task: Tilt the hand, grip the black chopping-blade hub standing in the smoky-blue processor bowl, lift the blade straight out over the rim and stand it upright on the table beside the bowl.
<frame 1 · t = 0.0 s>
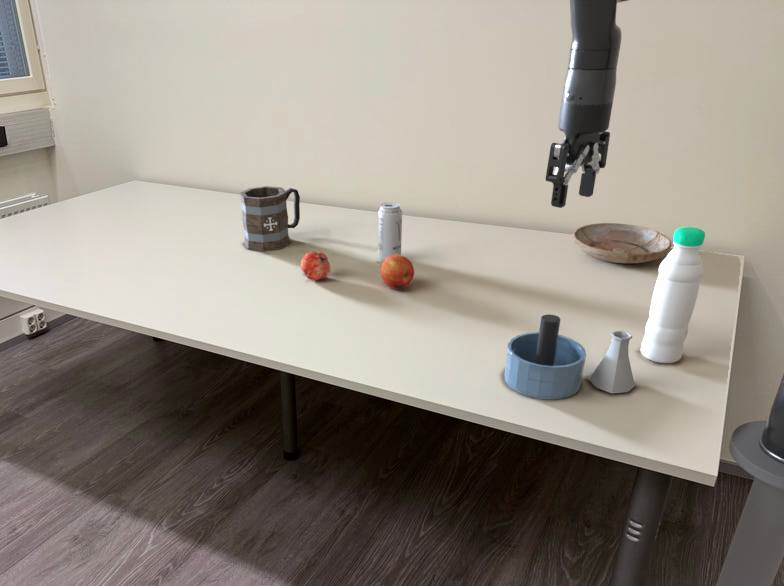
hand: (572, 201, 112), 31 cm above the table, tool pointing down, fingers open, 8 cm apart
chopping blade: (542, 377, 122), point 1 cm above the table, touching processor bowl
energy drink can: (389, 261, 179), on the table
ceramic bowl: (617, 255, 174), on the table
pomegranate: (315, 279, 170), on the table
processor bowl: (541, 380, 122), on the table
flask: (611, 384, 120), on the table
water bottle: (659, 356, 128), on the table
apple: (397, 288, 163), on the table
mug: (275, 241, 197), on the table
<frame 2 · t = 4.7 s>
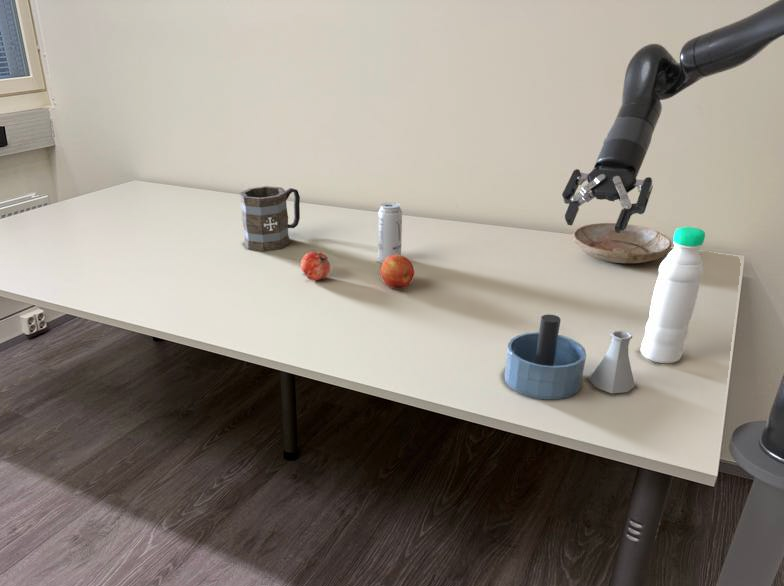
hand: (592, 226, 120), 25 cm above the table, tool tilted 45°, fingers open, 8 cm apart
nothing on the table moved.
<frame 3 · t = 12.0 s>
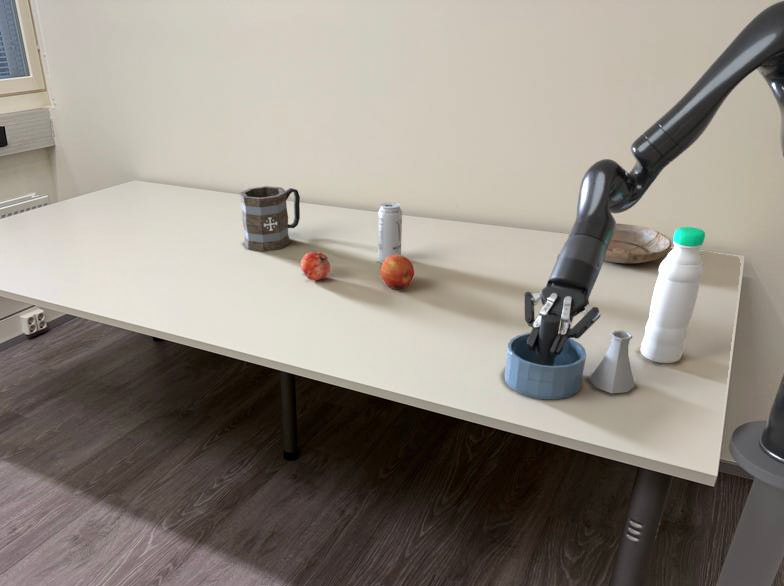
hand: (541, 351, 117), 7 cm above the table, tool tilted 45°, fingers closed on chopping blade, 3 cm apart
chopping blade: (542, 377, 122), point 1 cm above the table, touching gripper, processor bowl
everything else where it was.
when the fingers open (6 cm above the table, at t = 23.2 s): chopping blade stays where it is, on the table.
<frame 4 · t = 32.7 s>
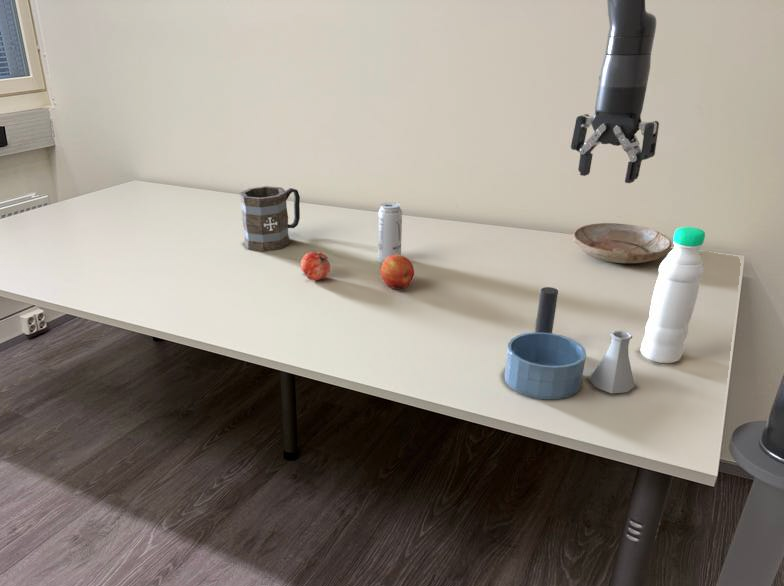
hand: (606, 178, 121), 32 cm above the table, tool pointing down, fingers open, 8 cm apart
chopping blade: (541, 345, 133), on the table
everything else where it was.
at the end: chopping blade inside the target area (0.1 cm from its centre), on the table; chopping blade tilted 0°; the gripper is holding nothing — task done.
